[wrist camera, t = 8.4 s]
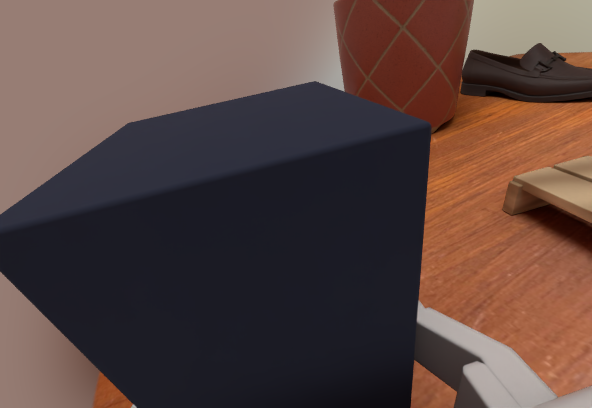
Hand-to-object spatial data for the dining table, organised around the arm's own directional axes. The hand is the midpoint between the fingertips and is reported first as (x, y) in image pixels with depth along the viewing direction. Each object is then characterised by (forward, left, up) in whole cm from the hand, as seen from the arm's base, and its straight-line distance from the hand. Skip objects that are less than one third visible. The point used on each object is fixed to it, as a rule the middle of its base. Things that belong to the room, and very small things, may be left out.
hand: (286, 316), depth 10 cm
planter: (+48, -31, -12) cm, 59 cm away
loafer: (+46, -59, -12) cm, 76 cm away
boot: (+3, 0, -10) cm, 11 cm away
